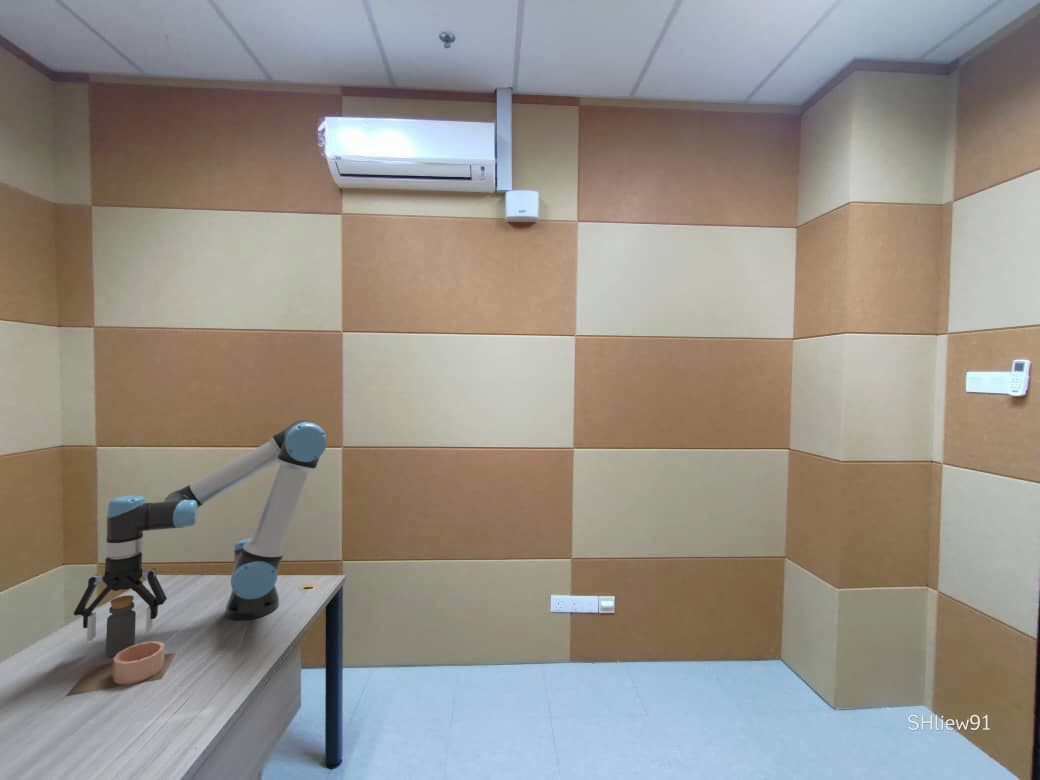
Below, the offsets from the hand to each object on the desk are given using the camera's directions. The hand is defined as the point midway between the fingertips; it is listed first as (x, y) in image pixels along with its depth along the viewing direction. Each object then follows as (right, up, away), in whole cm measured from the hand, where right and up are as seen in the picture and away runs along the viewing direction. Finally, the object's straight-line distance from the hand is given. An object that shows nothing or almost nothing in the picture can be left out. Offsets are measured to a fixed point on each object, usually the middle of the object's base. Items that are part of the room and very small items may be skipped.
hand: (120, 634), depth 121 cm
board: (+9, -6, -9) cm, 14 cm away
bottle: (0, -6, 0) cm, 6 cm away
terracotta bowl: (+12, -5, -9) cm, 16 cm away
